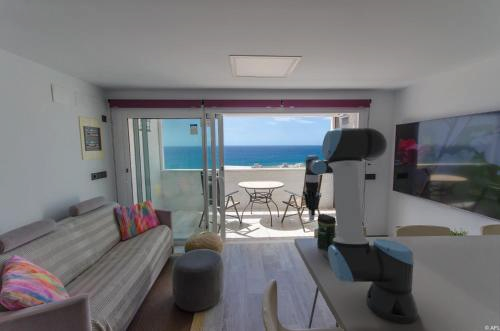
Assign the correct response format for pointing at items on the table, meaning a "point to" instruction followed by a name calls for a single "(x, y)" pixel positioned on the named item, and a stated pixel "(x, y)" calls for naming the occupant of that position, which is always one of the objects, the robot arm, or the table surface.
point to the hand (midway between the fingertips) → (311, 220)
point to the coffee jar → (326, 231)
